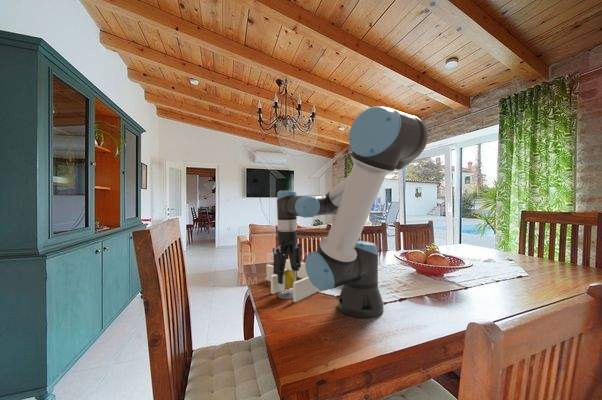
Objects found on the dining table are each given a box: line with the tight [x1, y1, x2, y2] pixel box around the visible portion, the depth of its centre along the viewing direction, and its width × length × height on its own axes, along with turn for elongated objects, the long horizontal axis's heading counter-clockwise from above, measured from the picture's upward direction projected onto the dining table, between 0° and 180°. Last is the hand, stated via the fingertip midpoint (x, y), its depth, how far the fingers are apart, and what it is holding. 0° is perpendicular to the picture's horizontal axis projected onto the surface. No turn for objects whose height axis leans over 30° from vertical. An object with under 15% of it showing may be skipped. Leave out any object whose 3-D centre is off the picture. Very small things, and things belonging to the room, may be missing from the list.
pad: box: [277, 289, 293, 300], centre depth 100 cm, size 8×8×1 cm
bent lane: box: [265, 258, 321, 303], centre depth 111 cm, size 27×23×7 cm
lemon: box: [283, 269, 295, 290], centre depth 100 cm, size 6×6×8 cm
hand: (287, 288), depth 100 cm, fingers closed on lemon, 5 cm apart
